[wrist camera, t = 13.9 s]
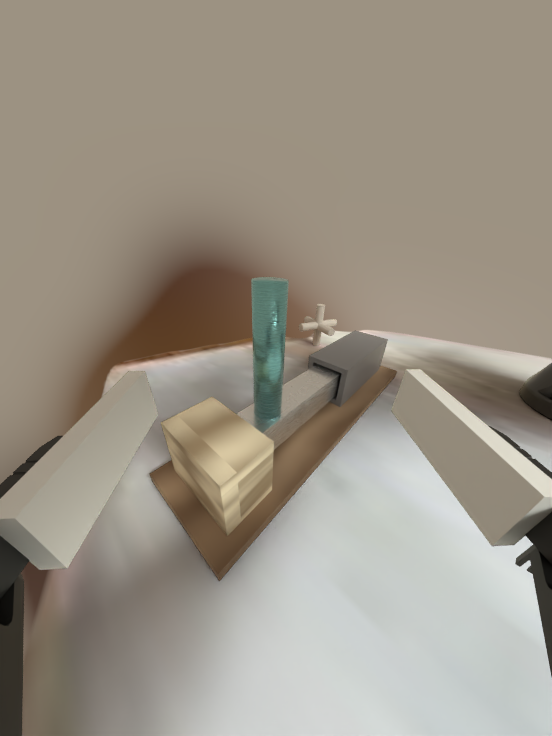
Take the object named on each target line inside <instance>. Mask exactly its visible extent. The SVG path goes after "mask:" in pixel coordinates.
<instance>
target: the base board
mask: <svg viewBox="0 0 552 736" xmlns="http://www.w3.org/2000/svg"><path fill="white" fill-rule="evenodd" d="M396 373H397V371H395V370H392V369H389V368H386V367H383V366H380V368H379V370H378V371H377V372H376V373H375V374H374V375H373V376H372V377H371V378H370V379H369V380H368V381H367V382H366V383H365V384H364V385H363V386H361V387H360V388H359V389H358V390H357V391H356V392H355V393H354V394H353V395H352V396H351V397H350V398H349V399H348V400H347V401H346V402H345V403H344V404H343V405H342V406H341V407H339V406H337V405H335V404H333V403H331V402H328V403H327V404H326V405H325V406H324V407H323V408H322V409H320V410H319V411H318V412H317V413H316V414H315V415H313V416H312V417H311V418H310V419H309V420H308V421H307V422H305V423H304V424H303V425H302V426H301V427H300V428H299V429H297V430H296V431H295V432H294V433H293V434H292V435H291V436H289V437H288V438H287V439H286V440H285V441H284V442H283V443H281V444H280V445H279V446H278V447H277V448H276V449H275V450H274V453H273V479H272V490H271V491H270V492H269V494H268V495H267V496H266V497H265V498H264V499H263V500H262V501H261V502H260V503H259V504H258V505H257V506H256V507H255V508H254V509H253V510H252V511H251V512H250V513H249V514H248V515H247V516H246V517H245V518H244V519H243V520H242V522H241V523H240V524H239V525H238V526H237V527H236V528H235V529H234V530H233V531H232V532H231V533H230V534H229V535H228V536H227V535H226V534H225V533H224V531H223V530H222V529H221V528H220V526H219V525H218V524H217V523H216V521H215V520H214V519H213V518H212V516H211V515H210V514H209V513H208V511H207V510H206V509H205V508H204V506H203V505H202V504H201V503H200V501H199V500H198V499H197V498H196V496H195V495H194V494H193V493H192V491H191V490H190V489H189V488H188V486H187V485H186V484H185V483H184V481H183V480H182V479H181V477H180V476H179V475H178V474H177V472H176V471H175V469H174V466H173V462H172V460H171V461H169V462H168V463H166V464H165V465H163V466H161V467H160V468H158V469H157V470H155V471H154V472H152V473H150V477H151V479H152V482H153V483H154V485H155V486H156V488H157V489H158V491H159V492H160V494H161V495H162V497H163V498H164V500H165V501H166V502H167V504H168V505H169V507H170V508H171V510H172V511H173V513H174V514H175V516H176V517H177V519H178V520H179V522H180V523H181V525H182V526H183V528H184V529H185V531H186V532H187V534H188V535H189V537H190V538H191V540H192V541H193V543H194V544H195V546H196V547H197V549H198V550H199V551H200V553H201V554H202V556H203V557H204V559H205V560H206V562H207V563H208V565H209V566H210V568H211V569H212V571H213V572H214V574H215V575H216V577H217V578H218V580H219V581H220V580H221V579H222V578H223V577H224V575H225V574H226V573H227V572H228V571H229V570H230V568H231V567H232V566H233V565H234V564H235V563H236V561H237V560H238V559H239V558H240V557H241V556H242V554H243V553H244V552H245V551H246V550H247V549H248V547H249V546H250V545H251V544H252V543H253V542H254V540H255V539H256V538H257V537H258V536H259V535H260V533H261V532H262V531H263V530H264V529H265V528H266V526H267V525H268V524H269V523H270V522H271V521H272V519H273V518H274V517H275V516H276V515H277V514H278V512H279V511H280V510H281V509H282V508H283V507H284V505H285V504H286V503H287V502H288V501H289V500H290V498H291V497H292V496H293V495H294V494H295V493H296V491H297V490H298V489H299V488H300V487H301V486H302V484H303V483H304V482H305V481H306V480H307V479H308V477H309V476H310V475H311V474H312V473H313V472H314V470H315V469H316V468H317V467H318V466H319V465H320V463H321V462H322V461H323V460H324V459H325V458H326V456H327V455H328V454H329V453H330V452H331V451H332V449H333V448H334V447H335V446H336V445H337V444H338V442H339V441H340V440H341V439H342V438H343V437H344V435H345V434H346V433H347V432H348V431H349V430H350V428H351V427H352V426H353V425H354V424H355V423H356V421H357V420H358V419H359V418H360V417H361V416H362V414H363V413H364V412H365V411H366V410H367V409H368V407H369V406H370V405H371V404H372V403H373V402H374V400H375V399H376V398H377V397H378V396H379V395H380V393H381V392H382V391H383V390H384V389H385V388H386V386H387V385H388V384H389V383H390V382H391V381H392V379H393V378H394V377H395V375H396Z"/></svg>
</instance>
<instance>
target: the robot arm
mask: <svg viewBox="0 0 552 736" xmlns="http://www.w3.org/2000/svg"><path fill="white" fill-rule="evenodd" d="M520 396H521V397H522V399H523V400H524V401H525V402H526V403H527V404H528V405H530V406H531V407H532V408H534V409H535V410H537V411H538V412H540V413H541V414H543V415H545V416H546V417H548V418H550V419H552V363H551V364H550V365H548V366H547V367H545V368H544V369H542V370H541V371H539V372H538V373H536V374H535V375H533V376H532V377H531V378H529V379H528V380H527V381H526V382H525V384H524V385H523V387H522V388H521V389H520ZM391 411H392V412H393V414H394V415H395V416H396V418H397V419H398V420H399V422H400V423H401V424H402V426H403V427H404V428H405V430H406V431H407V432H408V434H409V435H410V437H411V438H412V439H413V441H414V442H415V443H416V445H417V446H418V447H419V449H420V450H421V451H422V453H423V454H424V455H425V457H426V458H427V459H428V461H429V462H430V463H431V465H432V466H433V467H434V469H435V470H436V471H437V473H438V474H439V476H440V477H441V478H442V480H443V481H444V482H445V484H446V485H447V486H448V488H449V489H450V490H451V492H452V493H453V494H454V496H455V497H456V498H457V500H458V501H459V502H460V504H461V505H462V506H463V508H464V509H465V510H466V512H467V513H468V515H469V516H470V517H471V519H472V520H473V521H474V523H475V524H476V525H477V527H478V528H479V529H480V531H481V532H482V533H483V535H484V536H485V537H486V539H487V540H488V541H489V543H490V544H491V545H492V546H504V545H515V544H516V543H517V542H518V541H519V540H521V539H522V538H523V537H524V536H525V535H526V536H527V538H528V539H529V540H530V541H531V542H532V543H533V544H534V545H532V546H531V547H530V548H529V549H527V550H526V551H525V552H524V553H522V554H521V555H520V556H518V557H517V558H516V565H518V566H522V565H523V564H524V563H526V562H527V561H528V560H530V561H531V566H530V567H529V568H528V569H527V571H528V572H530V573H532V574H533V578H534V583H535V588H536V594H537V599H538V605H539V610H540V616H541V621H542V627H543V632H544V637H545V643H546V648H547V654H548V659H549V665H550V670H551V676H552V472H550V471H549V470H548V469H547V468H545V467H544V466H543V465H542V464H541V463H539V462H538V461H537V460H536V459H532V456H531V455H529V454H528V453H527V452H526V451H525V450H523V449H520V446H518V445H517V444H516V443H515V442H513V441H512V440H511V439H510V438H509V437H507V436H506V435H504V434H503V433H501V432H499V431H497V430H496V429H494V428H492V427H490V426H487V425H486V424H485V423H484V422H483V421H481V420H480V419H479V418H478V417H477V416H475V415H474V414H473V413H472V412H471V411H469V410H468V409H467V408H466V407H465V406H463V405H462V404H461V403H460V402H459V401H457V400H456V399H455V398H454V397H453V396H451V395H450V394H449V393H448V392H447V391H445V390H444V389H443V388H442V387H441V386H440V385H438V384H437V383H436V382H435V381H434V380H432V379H431V378H430V377H429V376H428V375H426V374H425V373H424V372H423V371H422V370H420V369H406V371H405V374H404V376H403V379H402V382H401V385H400V387H399V390H398V393H397V396H396V398H395V401H394V404H393V407H392V409H391ZM157 416H158V411H157V408H156V405H155V402H154V398H153V395H152V392H151V389H150V386H149V382H148V379H147V376H146V373H145V371H128V372H127V373H126V374H125V375H124V376H123V377H122V378H121V379H120V380H119V381H118V382H117V383H116V384H115V385H114V386H113V387H112V388H111V389H110V390H109V391H108V392H107V393H106V394H105V395H104V396H103V397H102V398H101V399H100V400H99V401H98V402H97V403H96V404H95V405H94V406H93V407H92V408H91V409H90V410H89V411H88V412H87V413H86V414H85V415H84V416H83V417H82V418H81V419H80V420H79V421H78V422H77V423H76V424H75V425H74V426H73V427H72V428H71V429H70V430H69V431H68V432H67V433H66V434H65V435H64V436H57V437H55V438H54V439H52V440H51V441H49V442H47V443H46V444H44V445H43V446H41V447H40V448H39V449H38V450H37V451H35V452H34V453H33V454H32V455H31V456H30V457H29V458H28V459H27V460H26V463H25V464H22V465H21V466H20V467H19V468H17V470H15V471H14V472H13V475H10V476H9V477H8V478H7V479H6V480H5V481H4V482H3V483H1V485H0V736H22V690H23V619H24V618H23V617H24V580H23V577H22V575H21V574H20V573H21V572H22V570H23V569H24V567H25V566H26V565H27V563H28V562H29V561H30V562H31V563H32V564H33V565H35V566H36V567H37V568H38V569H39V570H49V569H67V568H68V567H69V565H70V563H71V562H72V560H73V558H74V557H75V555H76V553H77V551H78V550H79V548H80V546H81V545H82V543H83V541H84V540H85V538H86V536H87V535H88V533H89V531H90V529H91V528H92V526H93V524H94V523H95V521H96V519H97V518H98V516H99V514H100V512H101V511H102V509H103V507H104V506H105V504H106V502H107V501H108V499H109V497H110V496H111V494H112V492H113V490H114V489H115V487H116V485H117V484H118V482H119V480H120V479H121V477H122V475H123V474H124V472H125V470H126V468H127V467H128V465H129V463H130V462H131V460H132V458H133V457H134V455H135V453H136V452H137V450H138V448H139V446H140V445H141V443H142V441H143V440H144V438H145V436H146V435H147V433H148V431H149V429H150V428H151V426H152V424H153V423H154V421H155V419H156V418H157Z"/></svg>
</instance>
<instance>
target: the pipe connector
mask: <svg viewBox="0 0 552 736" xmlns="http://www.w3.org/2000/svg"><path fill="white" fill-rule="evenodd" d="M324 309H325V305H324V304H318V305H317V311H316V319H313V318H311V317H309V316H307V317H305V319H304V322H305V323H303V324H300V325H299V329H300V331H307V330H314V335H313V343H312V344H313V345H315V346H319V345H320V338H321V332H323V333H325V334H327V335H329V336H332V335H333V334H334V332H335V330H334V329H333V328H331V327H333V326H336V324H337V321H336V320H335V319H331V320H325V321H323V316H324Z"/></svg>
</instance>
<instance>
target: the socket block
mask: <svg viewBox="0 0 552 736" xmlns="http://www.w3.org/2000/svg"><path fill="white" fill-rule="evenodd" d="M161 425H162V429H163V432H164V435H165V439H166V442H167V445H168V449H169V452H170V456H171V459H172V462H173V466H174V469H175V471H176V472H177V474H178V475H179V476H180V477H181V479H182V480H183V481H184V483H185V484H186V485H187V486H188V488H189V489H190V490H191V491H192V493H193V494H194V495H195V496H196V498H197V499H198V500H199V501H200V503H201V504H202V505H203V506H204V508H205V509H206V510H207V511H208V513H209V514H210V515H211V516H212V518H213V519H214V520H215V521H216V523H217V524H218V525H219V526H220V528H221V529H222V530H223V531H224V533H225V534H226V535H227V536H228V535H229V534H230V533H231V532H232V531H233V530H234V529H235V528H236V527H237V526H238V525H239V524H240V523H241V522H242V520H243V519H244V518H245V517H246V516H247V515H248V514H249V513H250V512H251V511H252V510H253V509H254V508H255V507H256V506H257V505H258V504H259V503H260V502H261V501H262V500H263V499H264V498H265V497H266V496H267V495H268V494H269V492H270V491H271V490H272V479H273V453H274V441H272V440H271V439H270V438H268V437H267V436H266V435H264V434H263V433H261V432H260V431H259V430H257V429H256V428H255V427H253V426H252V425H250V424H249V423H248V422H246V421H245V420H244V419H242V418H241V417H239V416H238V415H237V414H235V413H234V412H233V411H231V410H230V409H229V408H227V407H226V406H224V405H223V404H222V403H220V402H219V401H218V400H216V399H215V398H213V397H210V398H208V399H206V400H204V401H202V402H200V403H198V404H197V405H195V406H193V407H191V408H189V409H187V410H185V411H183V412H181V413H179V414H177V415H175V416H173V417H171V418H169V419H167V420H165V421H163V422H161Z"/></svg>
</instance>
